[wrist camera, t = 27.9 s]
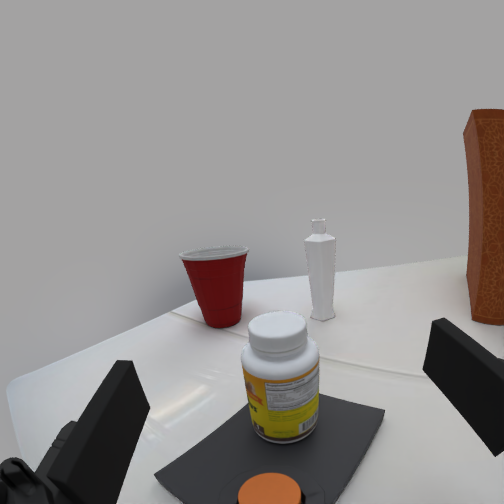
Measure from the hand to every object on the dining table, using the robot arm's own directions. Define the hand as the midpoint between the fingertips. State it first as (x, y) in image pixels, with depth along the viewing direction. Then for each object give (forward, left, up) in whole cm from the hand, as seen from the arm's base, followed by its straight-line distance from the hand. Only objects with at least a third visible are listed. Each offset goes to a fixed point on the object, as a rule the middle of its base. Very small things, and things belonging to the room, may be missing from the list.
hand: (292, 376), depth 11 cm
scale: (+3, +4, -13) cm, 14 cm away
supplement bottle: (+6, +5, -12) cm, 14 cm away
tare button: (-2, +1, -10) cm, 10 cm away
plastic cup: (+21, +27, -13) cm, 36 cm away
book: (+44, -15, -13) cm, 49 cm away
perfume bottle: (+29, +13, -13) cm, 34 cm away
